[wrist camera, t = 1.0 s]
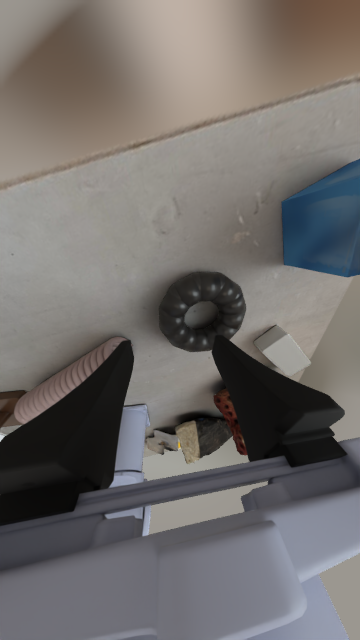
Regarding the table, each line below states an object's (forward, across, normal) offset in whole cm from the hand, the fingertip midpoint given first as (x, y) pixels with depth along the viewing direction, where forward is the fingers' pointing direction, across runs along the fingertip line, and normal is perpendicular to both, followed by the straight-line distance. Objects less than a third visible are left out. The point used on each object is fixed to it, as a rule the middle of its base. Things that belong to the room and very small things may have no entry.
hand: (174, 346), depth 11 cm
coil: (+7, +13, +9) cm, 17 cm away
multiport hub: (+4, -19, +8) cm, 21 cm away
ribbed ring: (+5, -4, 0) cm, 6 cm away
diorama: (+4, +3, +38) cm, 38 cm away
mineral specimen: (+6, -9, +32) cm, 34 cm away
